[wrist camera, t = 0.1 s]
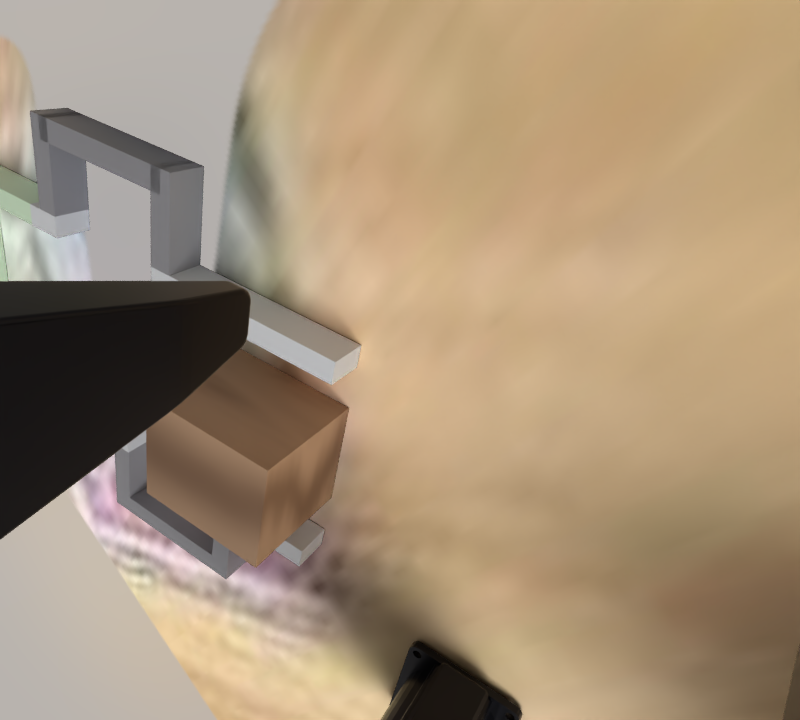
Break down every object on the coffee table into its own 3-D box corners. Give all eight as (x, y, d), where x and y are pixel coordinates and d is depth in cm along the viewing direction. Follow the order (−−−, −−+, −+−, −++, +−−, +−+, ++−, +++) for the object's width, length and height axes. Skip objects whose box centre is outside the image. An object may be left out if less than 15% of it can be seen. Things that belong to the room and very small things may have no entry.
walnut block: (332, 496, 34) (255, 567, 29) (232, 435, 36) (146, 492, 32) (350, 407, 31) (267, 471, 26) (239, 347, 33) (145, 395, 28)
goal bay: (79, 388, 42) (44, 404, 41) (6, 341, 45) (-30, 354, 43) (64, 196, 36) (20, 205, 34) (-22, 154, 38) (-66, 160, 36)
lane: (321, 544, 36) (299, 566, 34) (79, 388, 42) (51, 401, 41) (361, 345, 29) (335, 362, 27) (64, 196, 36) (29, 203, 34)
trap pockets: (249, 558, 40) (226, 579, 38) (91, 450, 45) (65, 465, 43) (289, 202, 28) (258, 212, 26) (67, 108, 33) (30, 110, 31)
